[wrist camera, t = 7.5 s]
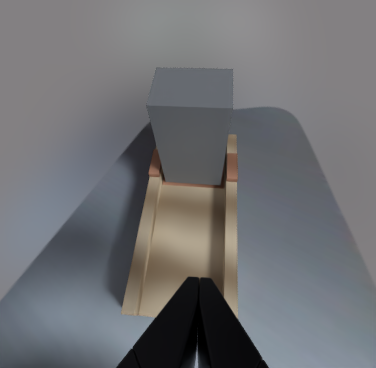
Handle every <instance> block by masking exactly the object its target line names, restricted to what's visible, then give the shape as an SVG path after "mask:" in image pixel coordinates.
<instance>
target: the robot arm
mask: <svg viewBox="0 0 376 368" xmlns="http://www.w3.org/2000/svg"><path fill="white" fill-rule="evenodd" d="M197 335H198V339H197ZM196 352H198V368H269V367H268V366H267V364H266V362H265V361H264V360H262V356H261V355H260V353H259V352H258V350H257V349H256V347H255V345H254V344H253V342H252V341H251V339H250V338H249V336H248V334H247V333H246V331H245V330H244V328H243V327H242V325H241V323H240V322H239V320H238V319H237V317H236V316H235V314H234V312H233V311H232V309H231V308H230V306H229V305H228V303H227V301H226V300H225V298H224V297H223V295H222V294H221V292H220V291H219V289H218V287H217V286H216V284H215V283H214V281H213V280H212V278H209V277H201V278H200V280H199V277H192V276H188V277H187V278H186V279H185V281H184V282H183V283H182V284H181V286H180V287H179V288H178V290H177V291H176V292H175V293H174V295H173V296H172V297H171V299H170V300H169V301H168V302H167V304H166V305H165V306H164V307H163V309H162V310H161V311H160V313H159V314H158V315H157V316H156V318H155V319H154V320H153V322H152V323H151V324H150V325H149V327H148V328H147V329H146V331H145V332H144V333H143V334H142V336H141V337H140V338H139V339H138V341H137V342H136V343H135V345H134V346H133V348H132V349H131V350H130V351H129V352H128V353H127V355H126V356H125V357H124V359H123V360H122V361H121V362H120V363H119V365H118V366H117V367H116V368H194V366H195V359H196Z"/></svg>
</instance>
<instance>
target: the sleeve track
mask: <svg viewBox="0 0 376 368" xmlns="http://www.w3.org/2000/svg"><path fill="white" fill-rule="evenodd" d="M149 176H150V178H149V182H148V187H147V192H146V197H145V201H144V206H143V211H142V216H141V220H140V225H139V230H138V235H137V239H136V244H135V249H134V254H133V258H132V263H131V268H130V273H129V277H128V282H127V287H126V292H125V296H124V301H123V306H122V310H121V314H125V315H133V316H136V315H139V316H148V317H156V316H157V315H158V314H159V313H160V311H161V310H162V309H163V307H164V306H165V305H166V304H167V302H168V301H169V300H170V299H171V297H172V296H173V295H174V293H175V292H176V291H177V290H178V288H179V287H180V286H181V284H182V283H183V282H184V281H185V279H186V278H187V277H188V276H192V277H199V280H200V278H201V277H209V278H212V280H213V281H214V283H215V284H216V286H217V287H218V289H219V291H220V292H221V294H222V295H223V297H224V298H225V300H226V301H227V303H228V305H229V306H230V308H231V309H232V311H233V312H234V314H235V316H236V317H237V319H238V290H237V179H238V164H237V147H236V135H228V141H227V147H226V154H225V160H224V166H223V172H222V178H221V185H206V184H190V183H175V182H166V180H165V177H164V173H163V169H162V165H161V161H160V157H159V153H158V149H157V145H156V149H154V150H153V155H152V160H151V164H150V169H149Z"/></svg>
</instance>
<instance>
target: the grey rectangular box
mask: <svg viewBox="0 0 376 368" xmlns="http://www.w3.org/2000/svg"><path fill="white" fill-rule="evenodd" d="M146 106H147V110H148V114H149V118H150V122H151V126H152V130H153V134H154V138H155V141H156V145H157V149H158V153H159V157H160V161H161V165H162V169H163V173H164V177H165V180H166V182H175V183H190V184H206V185H221V178H222V172H223V166H224V160H225V154H226V147H227V141H228V135H229V129H230V123H231V116H232V110H233V69H205V68H156V71H155V75H154V79H153V82H152V86H151V90H150V93H149V97H148V101H147V105H146Z"/></svg>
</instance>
